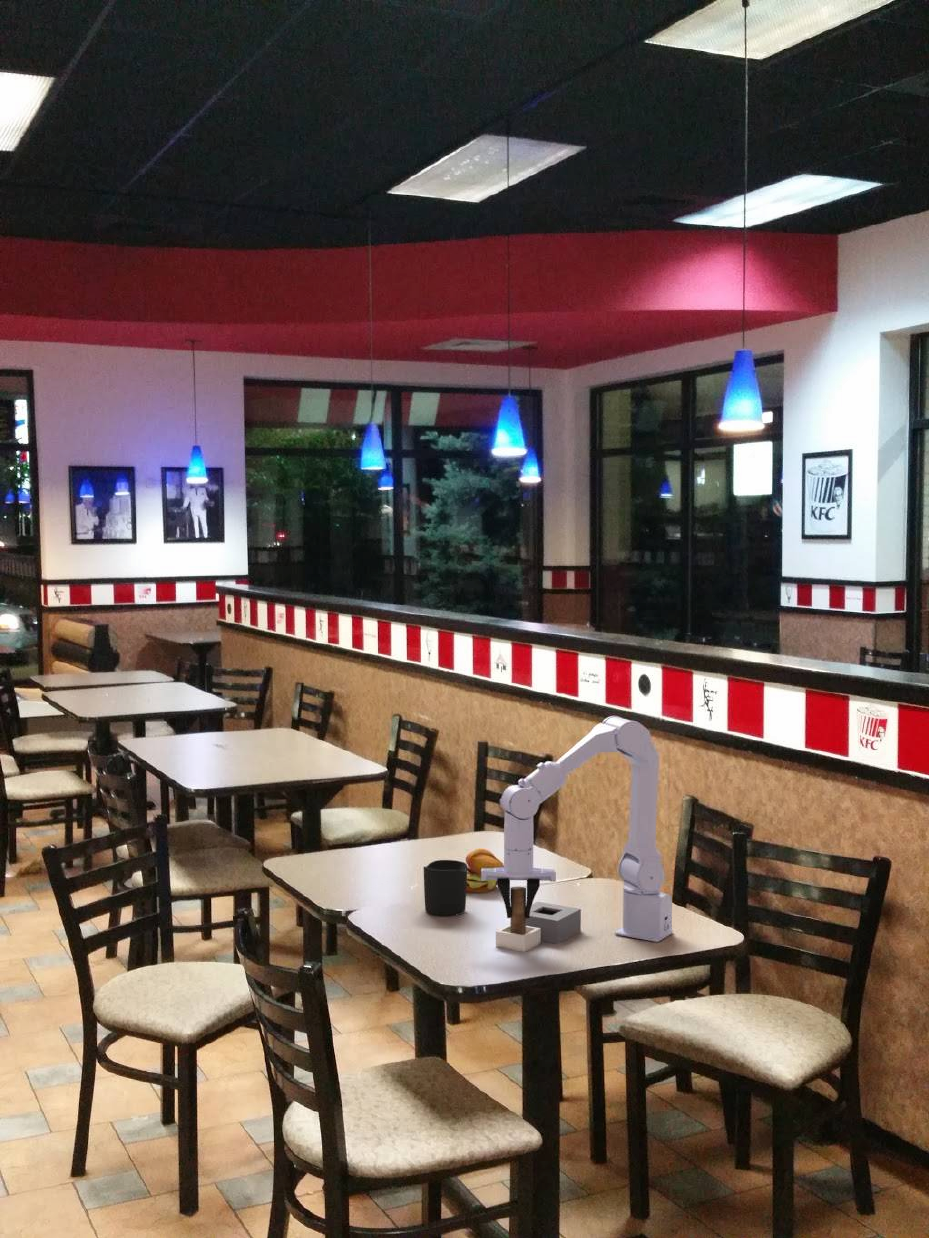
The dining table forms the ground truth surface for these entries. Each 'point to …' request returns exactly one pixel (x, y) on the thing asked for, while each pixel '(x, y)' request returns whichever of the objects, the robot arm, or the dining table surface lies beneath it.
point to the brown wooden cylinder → (518, 910)
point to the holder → (518, 938)
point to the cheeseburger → (475, 864)
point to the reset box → (554, 921)
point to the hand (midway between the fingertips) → (518, 916)
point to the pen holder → (445, 887)
